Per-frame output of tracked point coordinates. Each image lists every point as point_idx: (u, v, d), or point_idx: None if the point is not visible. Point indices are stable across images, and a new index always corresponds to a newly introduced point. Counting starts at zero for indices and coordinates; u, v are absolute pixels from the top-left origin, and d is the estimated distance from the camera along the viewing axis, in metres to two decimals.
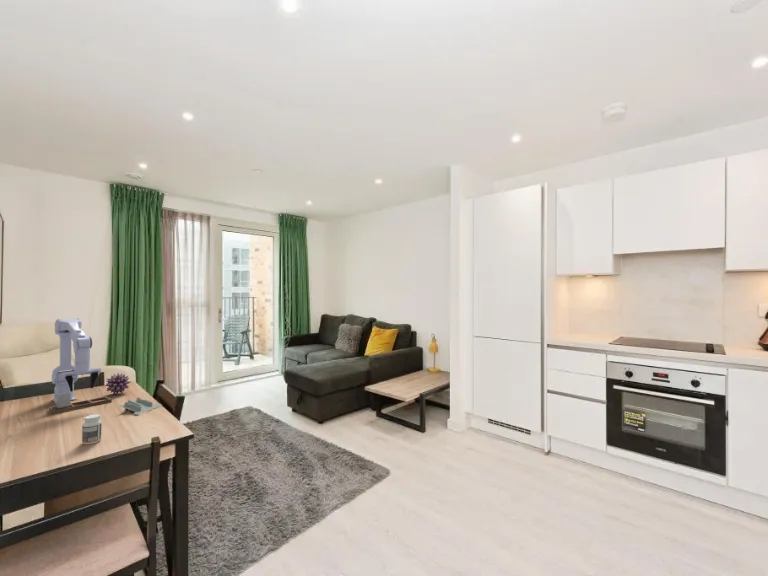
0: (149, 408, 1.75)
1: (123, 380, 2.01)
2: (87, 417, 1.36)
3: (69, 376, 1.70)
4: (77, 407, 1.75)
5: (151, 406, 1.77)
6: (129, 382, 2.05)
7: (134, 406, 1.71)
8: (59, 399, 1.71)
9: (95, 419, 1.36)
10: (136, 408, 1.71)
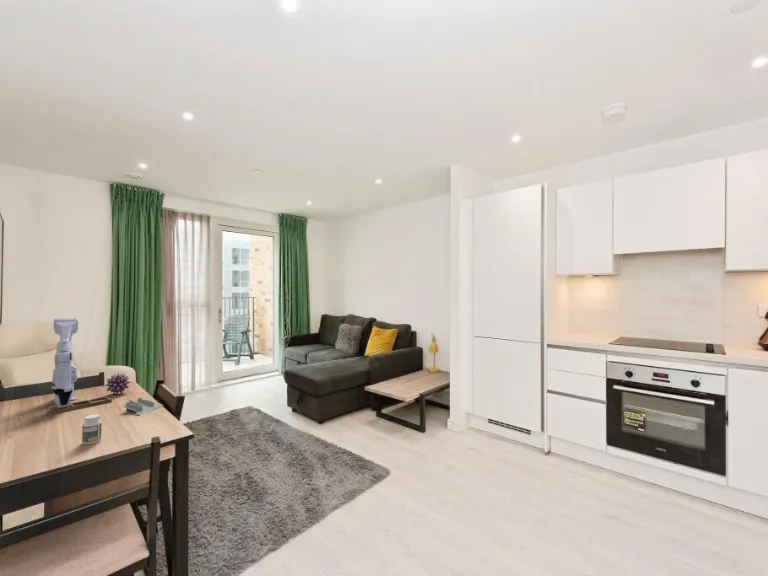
0: (150, 408, 1.75)
1: (123, 380, 2.01)
2: (87, 417, 1.36)
3: None
4: (77, 407, 1.75)
5: (152, 406, 1.77)
6: (129, 382, 2.05)
7: (135, 406, 1.71)
8: (59, 399, 1.71)
9: (95, 419, 1.36)
10: (137, 408, 1.71)
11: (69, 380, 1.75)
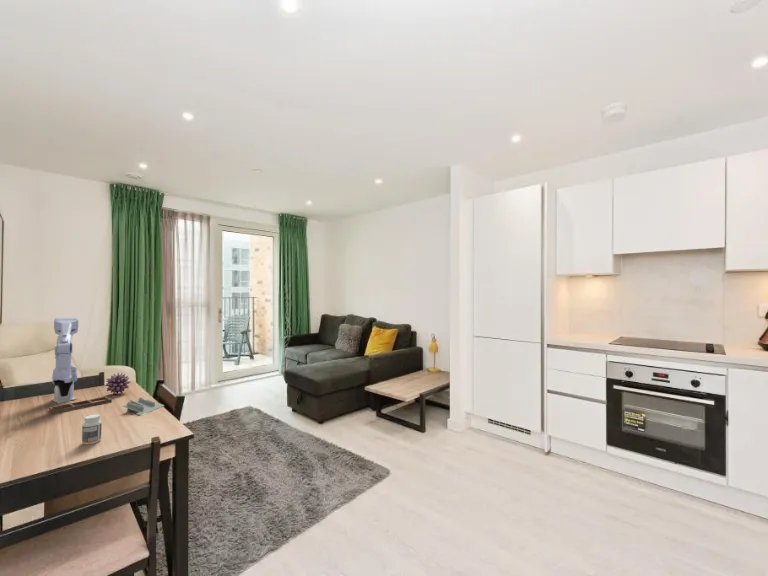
0: (151, 408, 1.75)
1: (123, 380, 2.01)
2: (87, 417, 1.36)
3: None
4: (77, 407, 1.75)
5: (153, 406, 1.77)
6: (129, 382, 2.05)
7: (136, 406, 1.71)
8: (59, 390, 1.71)
9: (95, 419, 1.36)
10: (139, 408, 1.71)
11: (69, 371, 1.75)
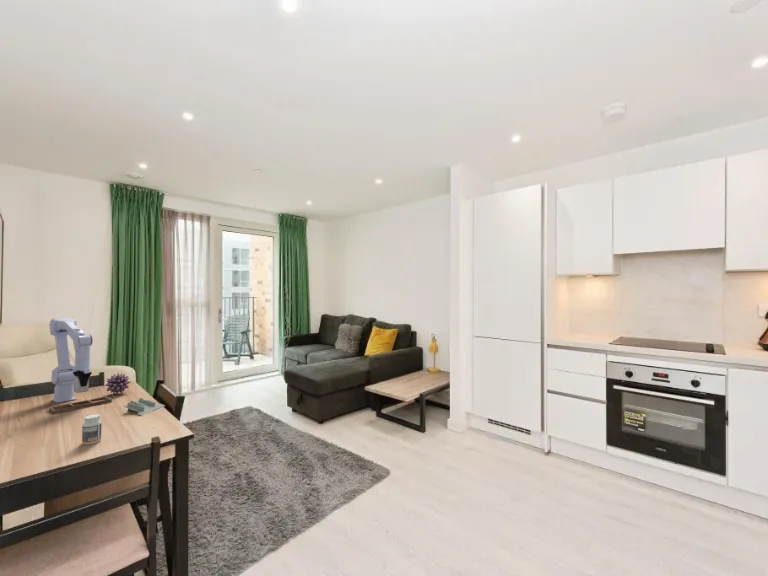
0: (152, 408, 1.75)
1: (123, 380, 2.01)
2: (87, 417, 1.36)
3: (77, 370, 1.82)
4: (77, 407, 1.75)
5: (154, 406, 1.77)
6: (129, 382, 2.05)
7: (137, 406, 1.71)
8: (78, 381, 1.77)
9: (95, 419, 1.36)
10: (139, 408, 1.70)
11: (88, 362, 1.81)
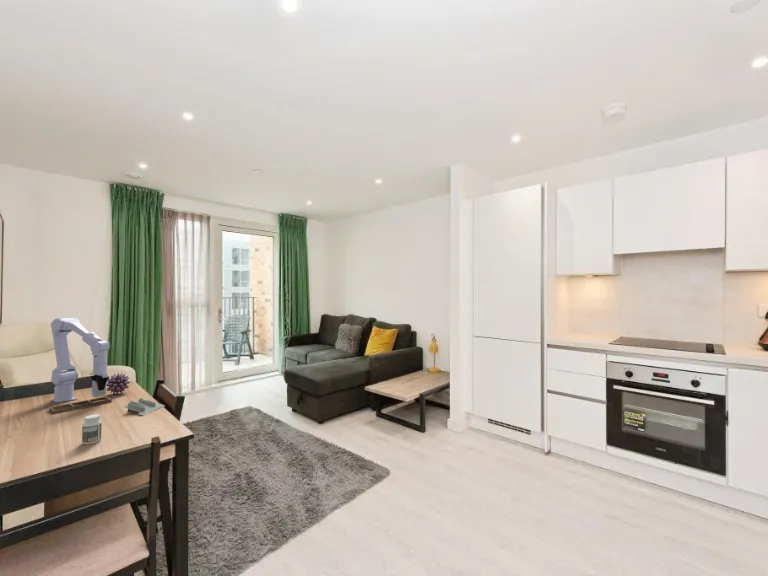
0: (153, 408, 1.74)
1: (123, 380, 2.01)
2: (87, 417, 1.36)
3: (94, 374, 1.88)
4: (77, 407, 1.75)
5: (154, 406, 1.77)
6: (129, 382, 2.05)
7: (138, 407, 1.70)
8: (96, 385, 1.83)
9: (95, 419, 1.36)
10: (140, 409, 1.70)
11: (105, 367, 1.87)
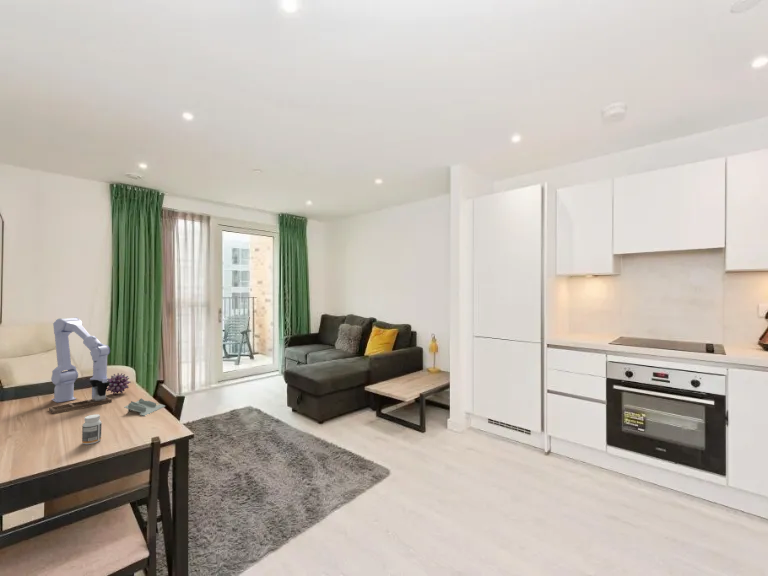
0: (153, 409, 1.74)
1: (123, 380, 2.01)
2: (87, 417, 1.36)
3: (94, 379, 1.88)
4: (77, 407, 1.75)
5: (155, 407, 1.76)
6: (129, 382, 2.05)
7: (139, 407, 1.70)
8: (96, 392, 1.83)
9: (95, 419, 1.36)
10: (141, 409, 1.70)
11: (105, 372, 1.87)
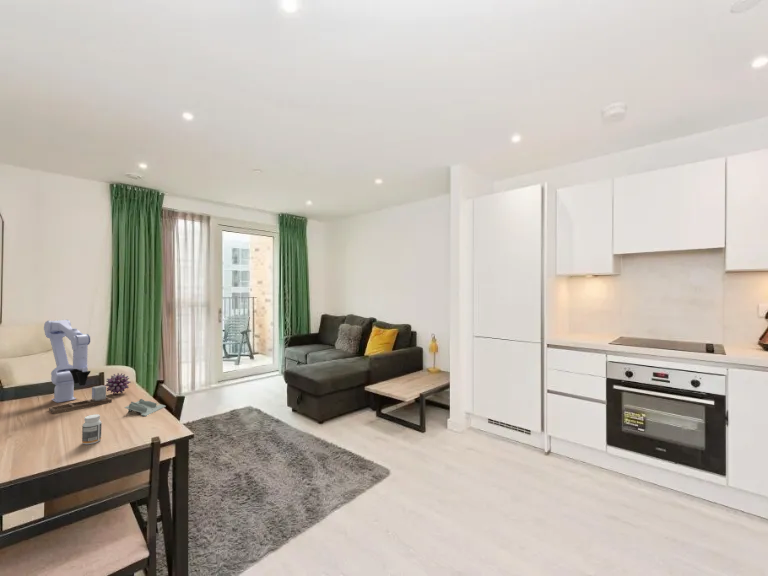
0: (154, 409, 1.74)
1: (123, 380, 2.01)
2: (87, 417, 1.36)
3: (74, 369, 1.85)
4: (77, 407, 1.75)
5: (155, 407, 1.76)
6: (129, 382, 2.05)
7: (139, 407, 1.69)
8: (96, 392, 1.83)
9: (95, 419, 1.36)
10: (142, 409, 1.69)
11: (86, 361, 1.84)
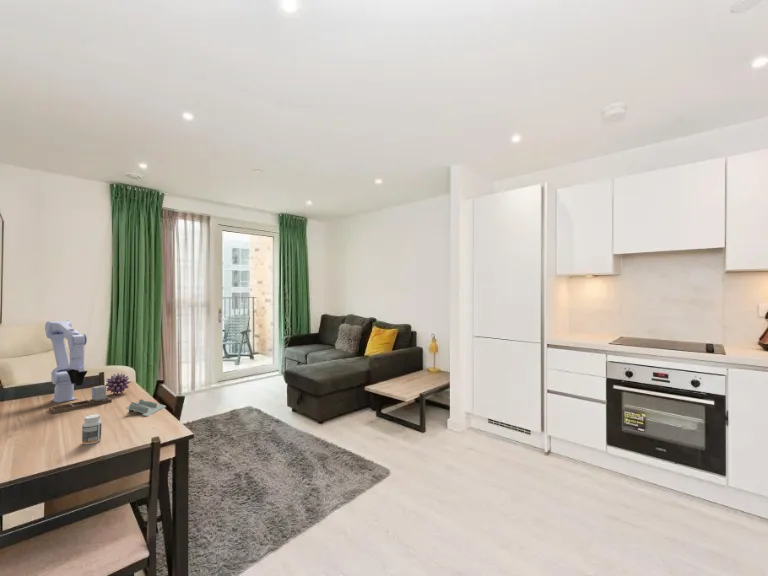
0: (155, 409, 1.74)
1: (123, 380, 2.01)
2: (87, 417, 1.36)
3: (71, 369, 1.85)
4: (77, 407, 1.75)
5: (156, 407, 1.76)
6: (129, 382, 2.05)
7: (140, 408, 1.69)
8: (96, 392, 1.83)
9: (95, 419, 1.36)
10: (143, 409, 1.69)
11: (83, 361, 1.83)
